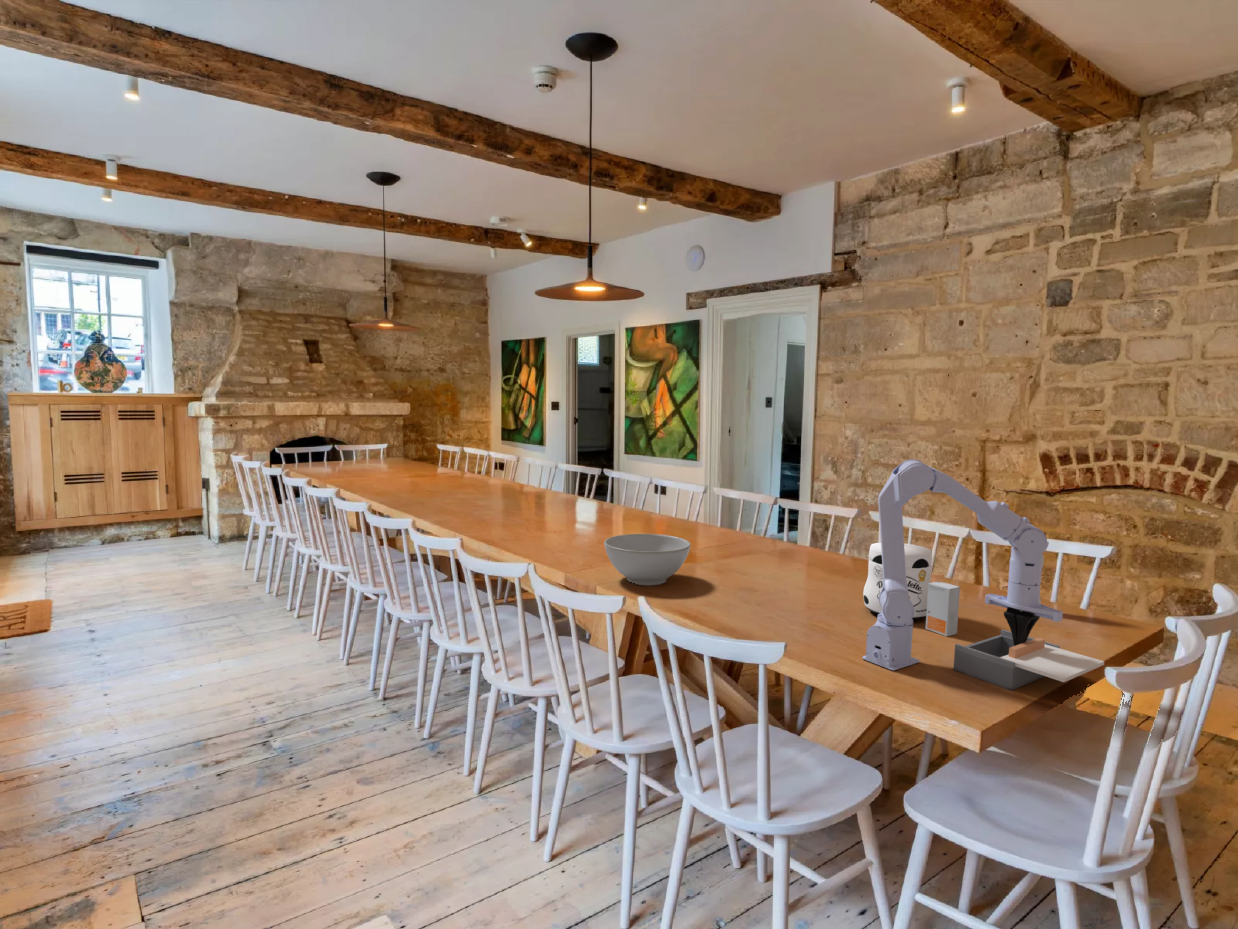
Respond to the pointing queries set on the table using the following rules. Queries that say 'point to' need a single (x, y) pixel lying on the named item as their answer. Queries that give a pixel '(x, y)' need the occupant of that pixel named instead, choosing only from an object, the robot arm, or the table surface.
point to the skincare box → (942, 608)
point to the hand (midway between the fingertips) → (1019, 645)
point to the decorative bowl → (647, 556)
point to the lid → (1050, 660)
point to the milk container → (916, 578)
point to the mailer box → (993, 662)
